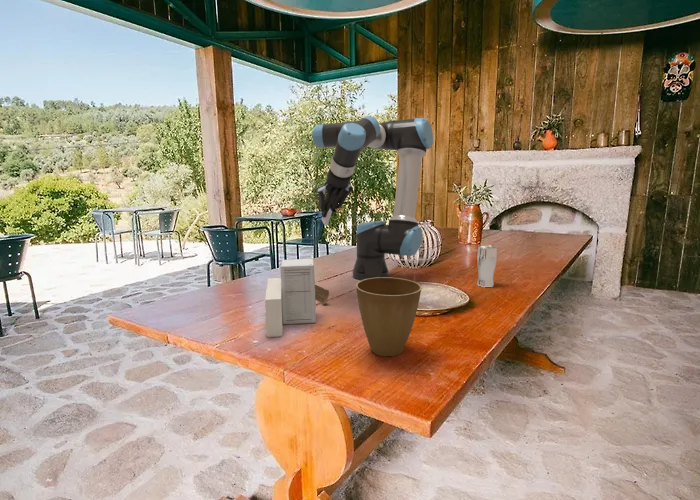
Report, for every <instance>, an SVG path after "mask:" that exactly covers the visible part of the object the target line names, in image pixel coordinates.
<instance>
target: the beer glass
mask: <svg viewBox="0 0 700 500" xmlns="http://www.w3.org/2000/svg"><path fill="white" fill-rule="evenodd" d="M477 247H478V249H477V254H476V255H477V256H476V263H477V271H478V279H477V282H476V286H477V285H478V287H479V286H481V287H480V288H485V287H491V288H493V287H494V285H495V284H494V283H495V282H494V273H495V271H496V270H495V269H496V266H497V260H498V259H497V258H498V256H497V255H498V253H497V252H498V249H497V248H498V247H497V246H495V245H494V246H493V245H479V246H477Z"/></svg>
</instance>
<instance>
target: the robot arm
mask: <svg viewBox="0 0 700 500" xmlns="http://www.w3.org/2000/svg"><path fill="white" fill-rule="evenodd" d="M433 134H434V133H433V129H432V125H431V123H430V121H429V120H428V119H427V118H424V117H419V118H418V117H415V118H406V119H397V120H395V119H393V120H388V121H387V120H386V121H383V122H379V120H377V118H375V117H374V116H371V115H367V116H364V117H361V118H360V119H359V120H353V121H344V122H342V121H341V122H336V123H335V122H334V123H322V124H317V125H315V126H314V128H313V129H312V134H311V135H312V142H313V144H314V145H315V147H316V148H324V149H326V148H327V149H328V148H334V150H333V151H334V152H333V155H332V158H331V161H330V164H329V168H328V172H327V175H326V181H325V183H324V184H323V186H322V187H320V186H318V187H316V190H317V192H318V197H317V198H318V208H319V210H320V212H321V221H322V223H323V225H324V226H327V225H329V223H330V221H331V220H330V219H331V217H332V216H334V213H336V212H337V210H340V209H341V208H342V206H343V204H344V203H345V202H346V199H347V198H348V196H349V194H350V193H351V192H352V191H353V190H354V187H353V186H352V184H351V179H352V176H353V174H354V171H355V168H356V166H357V162H358V159H359V157H360V154H361V153H362V152H363V151H364V150H365V149H366V148H367V147H369V148H371V149H379V150H387V151H388V150H389V151H396V153H397V155H398V156H399V162H398V169H397V171H398V172H397V180H396V187H395V188H396V189H395V196H394V197H395V198H394V206H393V207H394V208H393V216H391V218H389V219H388V224H386V220H375V221H367V222H360V223H358V225H356V260H355V263H354V266H353V269H352V277H353V278H354V279H356V280H359V281H361V280H364V279H369V278H377V277H390V276H389V275H390V274H389V268H388V265H387V262H386V259H385V258H386V256H385V254H387V255H397V256H403V257H404V256H408V257H411V256H414V255H416V254H417V252H419V249H420V247H421V245H422V241H423V230H422V228H421V227H420V226H419V222H418V220H417V219H416V213H417V204H418V203H417V202H418V191H419V184H420V175H421V169H422V159H423V158H424V157H425V156H426V155H427V150H430V149H431V148H432V147H433V142H434V136H433ZM325 194H326V195H325Z"/></svg>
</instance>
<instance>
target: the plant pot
mask: <svg viewBox="0 0 700 500" xmlns="http://www.w3.org/2000/svg"><path fill="white" fill-rule="evenodd" d="M355 288H356V297H357V302H358V308H359V313H360V317H361V322H362V325H363V329H364V334H365V336H366V338H367V341H368V344H369V345H368V346H369V347H370V350H371V351H372V353H374V354H375V355H377V356H381V357H387V356H392V357H395V356H396V355H397V356H400V355H401V354H402V353H403V351H404V348H405V346H406V344H407V342H408V340H409V337H410V334H411V331H412V328H413V326H414V322H415V319H416V315H417V312H418V307H419V303H420V299H421V298H420V297H421V292H422V286H421V284H419V283H418V282H416V281H413V280H410V279H406V278H399V277H390V276H389V277H377V278H369V279H364V280H359V281H358V282H356V283H355Z"/></svg>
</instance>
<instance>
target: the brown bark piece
mask: <svg viewBox="0 0 700 500" xmlns="http://www.w3.org/2000/svg"><path fill="white" fill-rule="evenodd" d="M329 296H330V289H329V290H328V289H325V288H324V287H321V286H320V285H316V284H315V300H316V301H317V302H319V303H320V304H321V305H322V306H325V304H326V303H327V302H328V300H329V299H328V298H329Z"/></svg>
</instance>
